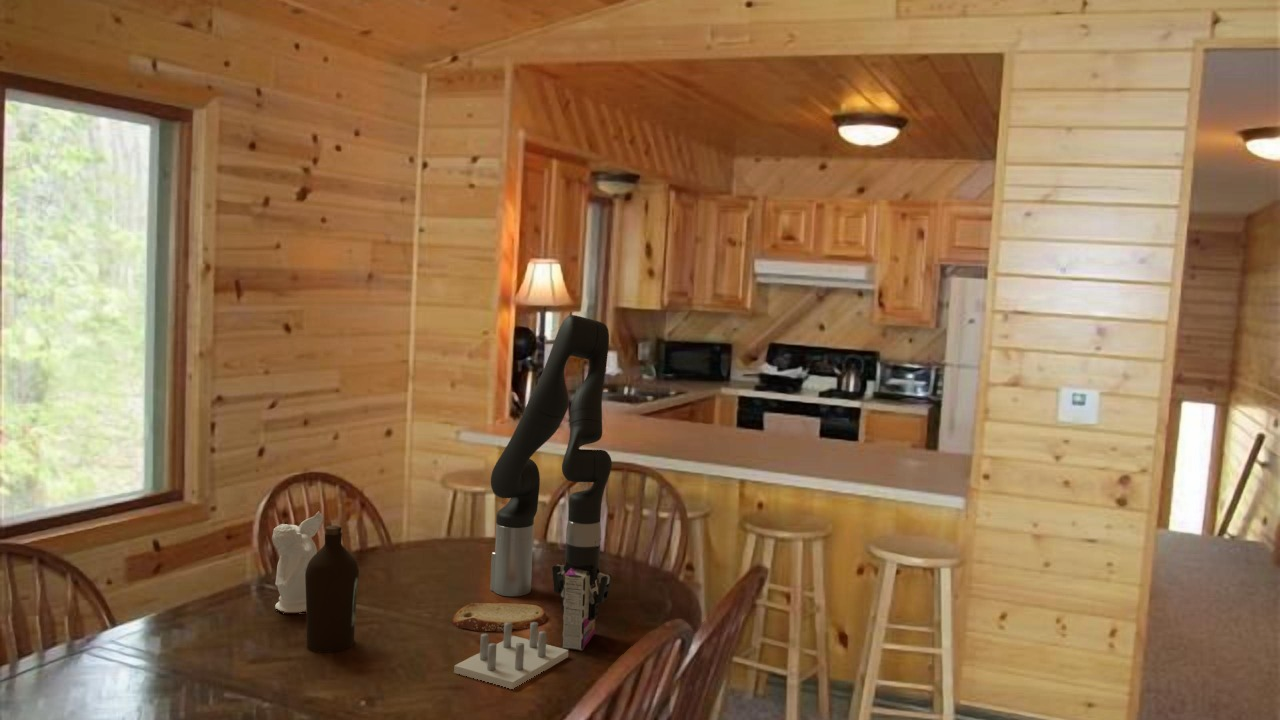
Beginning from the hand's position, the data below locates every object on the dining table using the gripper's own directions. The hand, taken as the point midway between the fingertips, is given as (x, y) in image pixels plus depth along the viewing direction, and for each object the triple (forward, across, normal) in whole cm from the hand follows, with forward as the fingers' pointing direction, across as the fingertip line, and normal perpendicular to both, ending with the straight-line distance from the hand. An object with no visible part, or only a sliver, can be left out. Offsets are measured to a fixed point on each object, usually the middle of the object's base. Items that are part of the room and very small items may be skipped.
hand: (579, 616), depth 217 cm
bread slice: (+6, -21, 0) cm, 22 cm away
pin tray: (+6, -4, -19) cm, 20 cm away
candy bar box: (+6, 0, 0) cm, 6 cm away
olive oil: (+6, -41, -32) cm, 52 cm away
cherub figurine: (+6, -65, -20) cm, 68 cm away
